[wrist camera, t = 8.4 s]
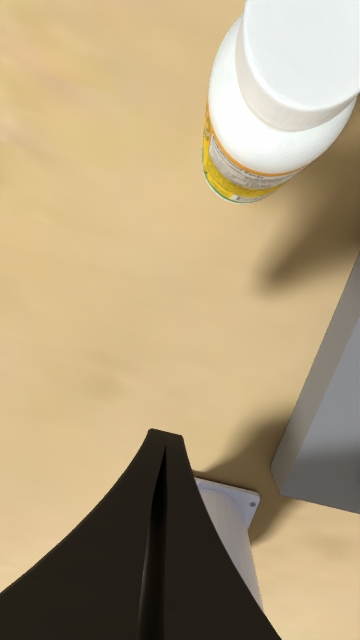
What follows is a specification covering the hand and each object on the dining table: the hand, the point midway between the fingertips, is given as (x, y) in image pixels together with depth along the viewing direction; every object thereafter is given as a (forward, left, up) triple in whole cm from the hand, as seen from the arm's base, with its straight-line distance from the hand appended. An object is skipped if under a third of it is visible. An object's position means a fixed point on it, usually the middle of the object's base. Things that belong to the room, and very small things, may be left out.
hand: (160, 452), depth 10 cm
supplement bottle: (+14, -1, -10) cm, 17 cm away
